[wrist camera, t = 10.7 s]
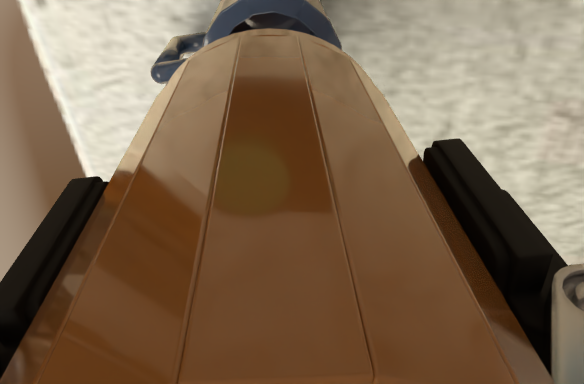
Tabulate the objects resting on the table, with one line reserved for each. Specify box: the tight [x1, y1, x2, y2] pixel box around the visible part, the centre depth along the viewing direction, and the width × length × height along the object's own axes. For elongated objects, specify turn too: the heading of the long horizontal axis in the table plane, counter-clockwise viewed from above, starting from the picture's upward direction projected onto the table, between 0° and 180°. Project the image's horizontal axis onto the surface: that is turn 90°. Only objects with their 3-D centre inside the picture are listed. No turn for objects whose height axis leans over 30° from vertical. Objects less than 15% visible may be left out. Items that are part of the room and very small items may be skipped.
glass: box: [0, 28, 555, 384], centre depth 9 cm, size 7×7×10 cm
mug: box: [151, 0, 342, 84], centre depth 23 cm, size 9×6×8 cm
